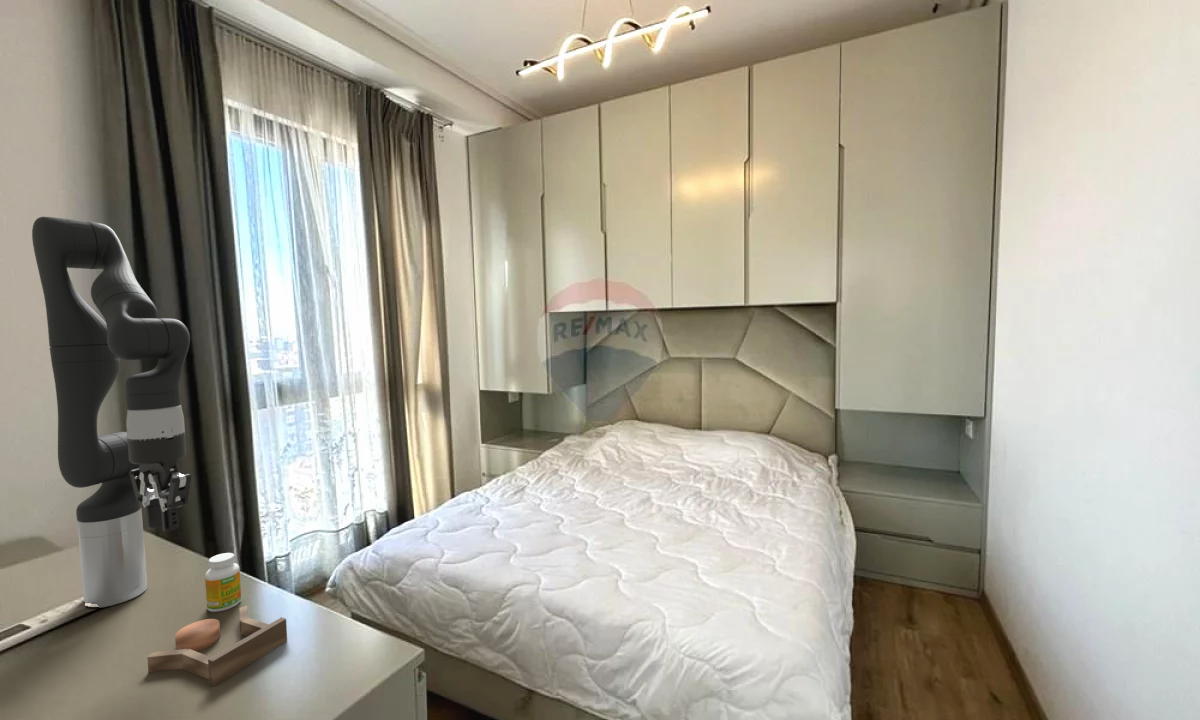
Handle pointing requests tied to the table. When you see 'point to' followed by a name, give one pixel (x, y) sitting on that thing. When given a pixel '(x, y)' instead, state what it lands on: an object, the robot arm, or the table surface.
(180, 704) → the table surface
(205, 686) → the table surface
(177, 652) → the dock
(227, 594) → the supplement bottle
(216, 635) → the salmon orange rounded piece
